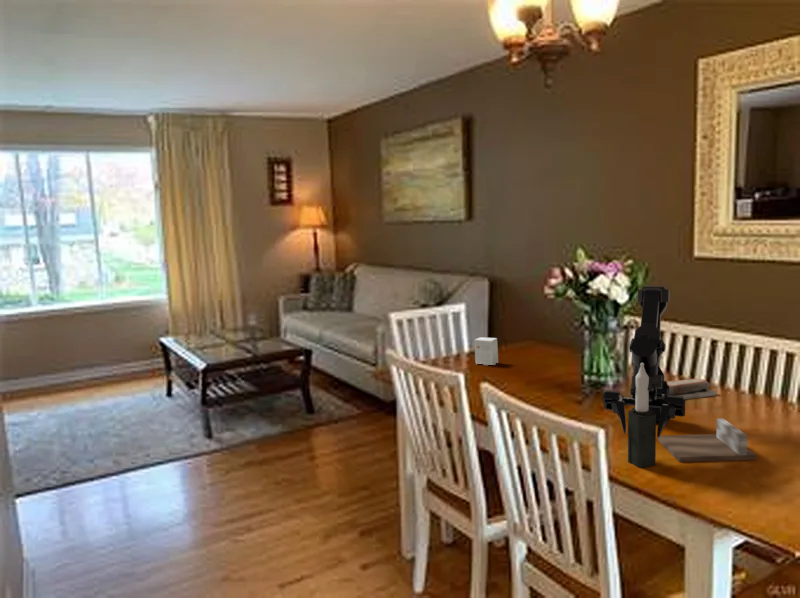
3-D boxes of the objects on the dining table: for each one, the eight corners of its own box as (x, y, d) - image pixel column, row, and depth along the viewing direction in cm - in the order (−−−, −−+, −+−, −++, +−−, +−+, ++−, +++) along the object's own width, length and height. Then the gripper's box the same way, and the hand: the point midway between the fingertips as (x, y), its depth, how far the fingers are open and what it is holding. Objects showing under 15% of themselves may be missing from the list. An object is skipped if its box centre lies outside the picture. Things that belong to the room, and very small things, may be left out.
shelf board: (657, 440, 159) (657, 417, 158) (727, 438, 158) (727, 415, 158) (679, 461, 146) (679, 437, 145) (755, 459, 145) (756, 435, 144)
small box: (498, 363, 248) (497, 338, 246) (493, 366, 243) (492, 340, 241) (480, 361, 252) (479, 336, 250) (474, 364, 247) (474, 339, 246)
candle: (625, 461, 148) (626, 361, 144) (642, 457, 149) (642, 359, 146) (640, 468, 143) (641, 366, 139) (657, 464, 145) (658, 363, 141)
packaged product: (667, 388, 189) (648, 380, 199) (667, 403, 190) (648, 394, 199) (717, 382, 193) (696, 374, 202) (717, 396, 193) (695, 388, 203)
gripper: (603, 359, 150) (597, 415, 142) (685, 363, 142) (684, 424, 134) (607, 381, 158) (601, 435, 150) (685, 386, 150) (684, 445, 142)
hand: (641, 434), depth 144 cm, fingers open, 7 cm apart
